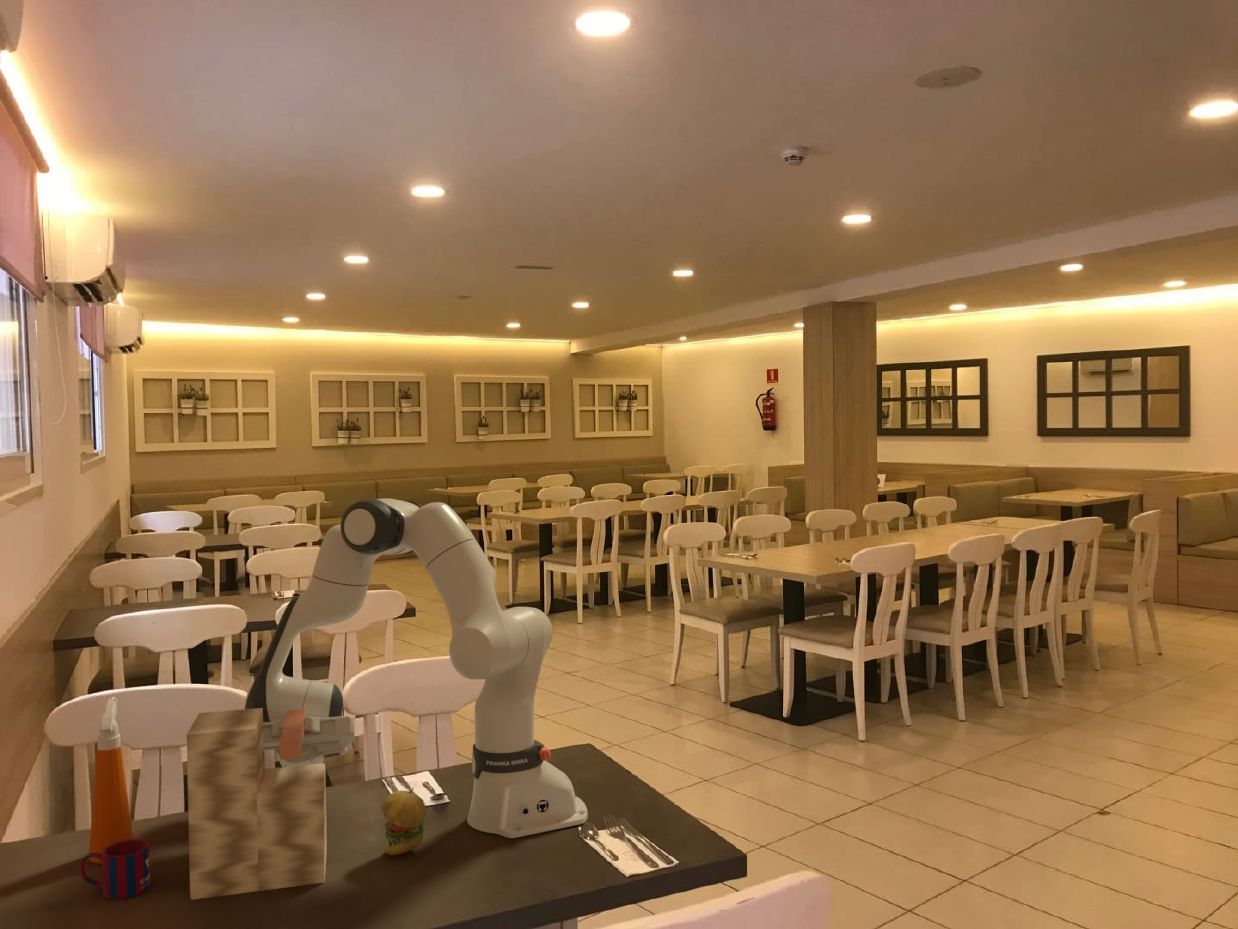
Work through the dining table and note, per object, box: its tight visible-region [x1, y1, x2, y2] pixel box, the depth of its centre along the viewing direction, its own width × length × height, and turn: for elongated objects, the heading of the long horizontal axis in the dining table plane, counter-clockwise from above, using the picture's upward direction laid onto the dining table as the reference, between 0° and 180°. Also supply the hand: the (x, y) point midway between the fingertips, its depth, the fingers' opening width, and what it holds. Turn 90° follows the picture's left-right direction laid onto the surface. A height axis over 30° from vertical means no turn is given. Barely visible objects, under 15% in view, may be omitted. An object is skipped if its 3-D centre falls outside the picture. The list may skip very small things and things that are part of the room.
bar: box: [280, 709, 305, 760], centre depth 161 cm, size 3×18×3 cm, turn 15°
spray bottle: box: [88, 696, 134, 865], centre depth 164 cm, size 7×11×26 cm, turn 21°
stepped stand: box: [186, 708, 328, 900], centre depth 155 cm, size 20×12×26 cm, turn 106°
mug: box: [79, 838, 151, 900], centre depth 150 cm, size 7×10×7 cm
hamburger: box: [381, 786, 427, 856], centre depth 162 cm, size 8×7×12 cm
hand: (294, 723), depth 165 cm, fingers closed on bar, 3 cm apart
